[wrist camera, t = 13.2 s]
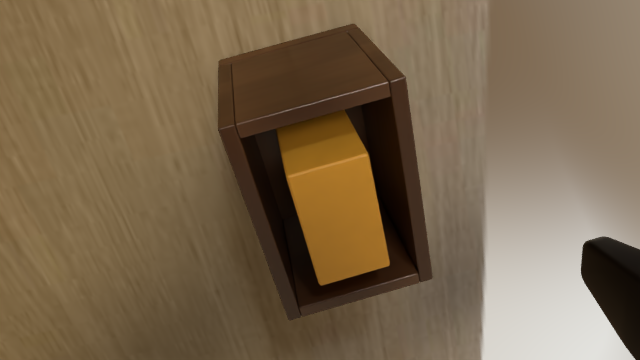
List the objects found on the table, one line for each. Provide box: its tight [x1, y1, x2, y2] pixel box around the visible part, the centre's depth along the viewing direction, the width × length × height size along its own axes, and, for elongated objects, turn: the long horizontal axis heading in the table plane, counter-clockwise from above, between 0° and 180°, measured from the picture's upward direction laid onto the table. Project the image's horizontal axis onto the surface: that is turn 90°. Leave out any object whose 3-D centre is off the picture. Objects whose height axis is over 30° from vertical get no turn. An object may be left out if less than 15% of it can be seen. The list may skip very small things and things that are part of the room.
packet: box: [275, 110, 390, 285], centre depth 15 cm, size 2×4×5 cm, turn 13°
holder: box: [218, 24, 433, 320], centre depth 15 cm, size 4×6×5 cm
